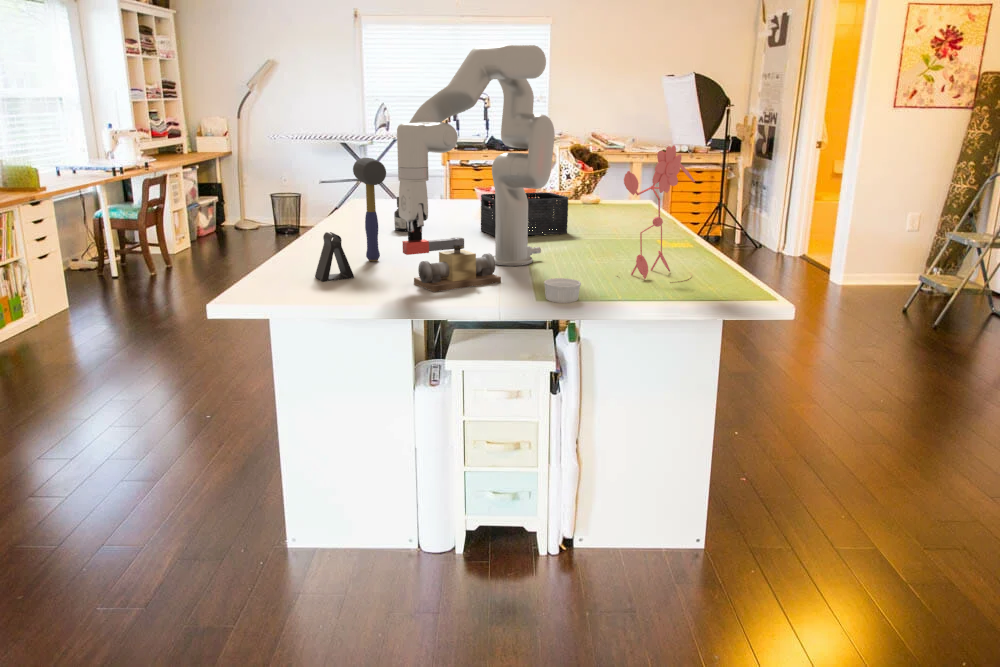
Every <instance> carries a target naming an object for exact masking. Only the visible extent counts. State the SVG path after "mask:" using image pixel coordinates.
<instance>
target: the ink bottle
mask: <svg viewBox="0 0 1000 667" xmlns="http://www.w3.org/2000/svg"><path fill="white" fill-rule="evenodd" d="M396 208H397V209H396V210H395V211H394V213H393V215H394V217H393V218H394V230H396V231H398V232H409V231H408V228H407V221H406V220H405V219H402V218H401V217H400V216H399V196H396Z"/></svg>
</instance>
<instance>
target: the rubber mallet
mask: <svg viewBox="0 0 1000 667" xmlns="http://www.w3.org/2000/svg"><path fill="white" fill-rule="evenodd" d="M352 172H353V175H354V177H355V178H356V179H357V180H358V181H359V182H362V183H363V184H365V198H366V201H365V202H366V212H365V216H364V218H365V222H364V223H365V224H364V229H365V230H364V231H365V235H366V253H365V254H366V256H365V257H366V258H367V260H368V261H369V262H377V261H379V259H380V258H381V256H380V255H381V253H380V250H379V220H378V219H379V218H378V213H377V210H376V193H375V190H376V189H375V186H377V185H380V184H382V183H383V182H384V180H385V179H386V177H387V169H386V167H385V165H384V164H383V163H382V162H381V161H379V160H377V159H376V158H372V157H362V158H361V157H360V158H359V159H357V160H356V161H355V162H354V164H353V167H352Z"/></svg>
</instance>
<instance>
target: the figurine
mask: <svg viewBox="0 0 1000 667" xmlns="http://www.w3.org/2000/svg"><path fill="white" fill-rule="evenodd" d="M656 157H657V158H656V159H657V161H658V162H657V164H656V165H655V167H654V174H653V177H652V185H651V186H650V187H648V188H645V189H644V190H642V191H639V192H638V190H639V184H640V182H639V180H638V178H637V177H636V175H635V174H634V173H632V172H631V171H630V170H627V171H626V173H625V174H624V177H623V184H624V187H625V189H626V190H628V191H629V193H630V194H631V195H632V196H634V195H636V196H637V197H638V196H639V195H642V194H643V193H645V192H648V191H650V190H651V191H652V192H653V193H654V195H655V198H656V199H657V200H658V201H657V205H658V206H657V209H658V216H655V217H654V218H653V219H652V225H650V226H648V227H647V228H645V229H644V230H642V231H640V234H639V235H640V236H639V237H640V241H639V242H640V243H639V244H640V245H639V246H640V249H639V250H640V252H639V253H640V254H637V256H636V259H635V260H636V261H635V263H636V264H635V266H634V268H633V269H632V270H631V271H632V272H631V273H630V275H631V276H633V275H634V273H635V272H636V271H637V269H638V272H639V273H640V275H641V276H642V277H643V279H646V278H647V277H648V274H649V265H648V262H647V260H646V258H645V256H643V252H642V251H643V244H642V243H643V242H642V241H643V239H642V237H643V236H642V235H643V233H644V232H646V231H647V230H649V229H652V228H653V227H659V228H660V250H658V251H657V252H658V256H657V257H656V259H655V261H654V262H653V264H652V267H651V268H650V271H651V272H652V271H653V270H654V268H655V267H656V265H657V263H658V261H659V259H661V261H662V263H663V265H664V267H665V268H666V269H667V271H668V272H671V269H670V267H669V265H668V263H667V260H666V259H665V255H663V254H664V253H663V224H664V220H663V218H662V217H661V198H660V196H659V195H658V193H657V191H656V190H659V193H660V194H663V192H665V193H666V194H668V193H669V191H670V189H671V186H672V187H675V186H677V185H678V183H679V178H678V176H677V175H678V174H679V173H680V170H681V171H683V173H684V175H685V176H687V177H688V178H689V179H690V180H691V181H692V182H693V183H695V182H696V180H695V179H694V177H693V176H692V175H691V173H690V172H689V170H688V169H687V168H686V167H685V166H684V165H683V164H682V163H681V161H682V155H681V154H677V147H676V145H672V146H669V145H667V147H666V148H665V151H663V150H659V151H658V152H657V156H656ZM657 183H658V186H656V184H657ZM689 274H690V275H691V276H692V275H693V274H692V273H691V272H689ZM615 277H616V278H619V279H620V276H618V275H615ZM690 279H692V277H690V278H688V279H685V280H680V281H677V283H682V282H688V281H690ZM669 283H670V284H673V283H675V281H669Z"/></svg>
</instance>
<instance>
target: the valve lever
mask: <svg viewBox="0 0 1000 667" xmlns="http://www.w3.org/2000/svg"><path fill="white" fill-rule="evenodd" d="M454 249H460V250H465V238H463V237H450V238H440V239H431V240H429V239H425V238H422V240H411V241H408V240H402V254H404V255H406V256H409V255H421V254H430V252H436V251H437V252H439V251H450V250H454Z"/></svg>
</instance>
